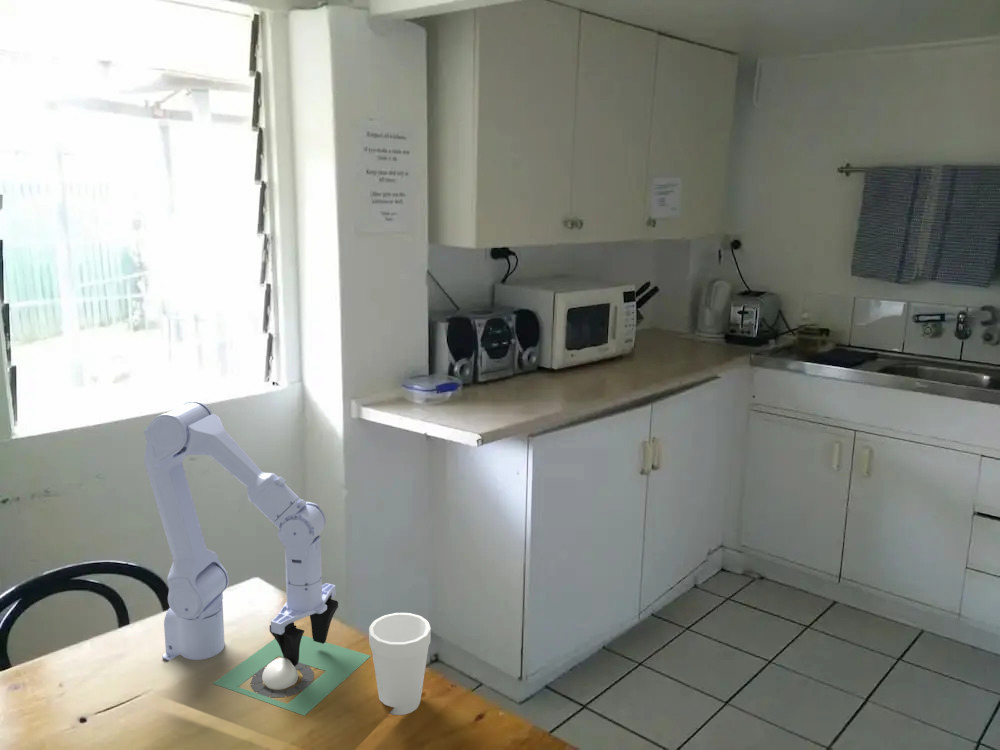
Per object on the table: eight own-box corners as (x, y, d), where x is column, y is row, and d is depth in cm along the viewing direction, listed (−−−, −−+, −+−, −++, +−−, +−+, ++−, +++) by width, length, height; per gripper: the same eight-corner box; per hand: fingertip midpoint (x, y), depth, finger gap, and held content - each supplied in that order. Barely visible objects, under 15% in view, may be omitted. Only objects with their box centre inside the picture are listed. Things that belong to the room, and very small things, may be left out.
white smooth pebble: (262, 690, 129) (256, 682, 127) (279, 663, 132) (273, 654, 131) (287, 698, 127) (281, 689, 125) (303, 670, 130) (298, 661, 129)
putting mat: (213, 691, 128) (212, 683, 128) (286, 637, 144) (286, 630, 144) (304, 724, 121) (304, 715, 120) (371, 663, 137) (371, 655, 137)
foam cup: (419, 725, 121) (419, 648, 118) (361, 716, 123) (360, 640, 120) (436, 689, 130) (437, 616, 127) (382, 681, 132) (381, 609, 129)
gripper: (295, 602, 123) (297, 681, 126) (349, 565, 136) (350, 637, 139) (259, 592, 126) (262, 669, 129) (315, 556, 139) (317, 627, 142)
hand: (305, 652), depth 134 cm, fingers open, 7 cm apart
